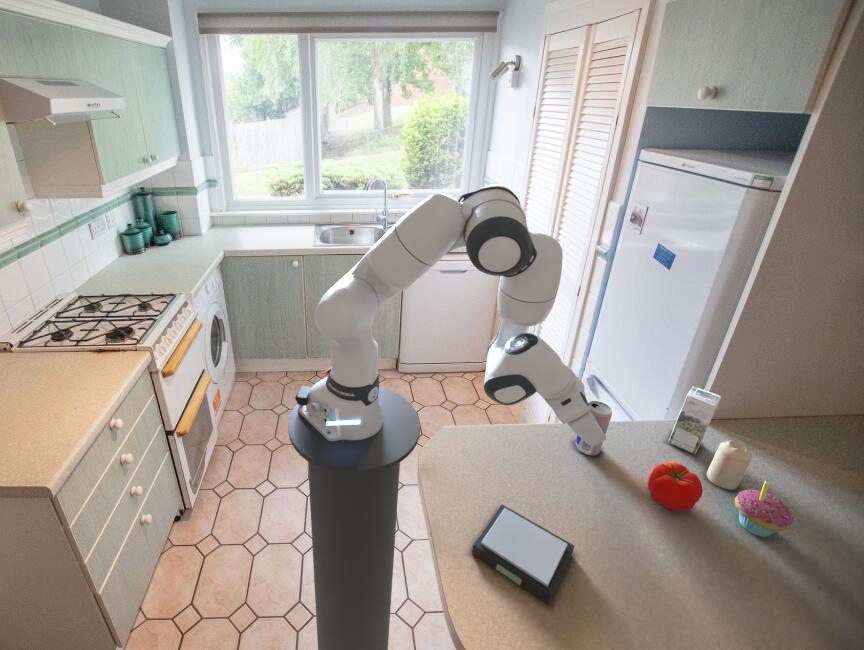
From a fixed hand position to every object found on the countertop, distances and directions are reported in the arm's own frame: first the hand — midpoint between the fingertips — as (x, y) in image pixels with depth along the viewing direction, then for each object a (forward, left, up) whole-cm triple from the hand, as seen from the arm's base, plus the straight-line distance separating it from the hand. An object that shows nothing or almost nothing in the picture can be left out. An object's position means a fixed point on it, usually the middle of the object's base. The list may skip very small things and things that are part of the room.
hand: (596, 427), depth 105 cm
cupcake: (+31, -1, -7) cm, 31 cm away
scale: (-1, -37, -6) cm, 38 cm away
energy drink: (-1, 0, -7) cm, 7 cm away
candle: (+25, +9, -7) cm, 27 cm away
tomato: (+17, -5, -7) cm, 19 cm away
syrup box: (+17, +17, -7) cm, 25 cm away
